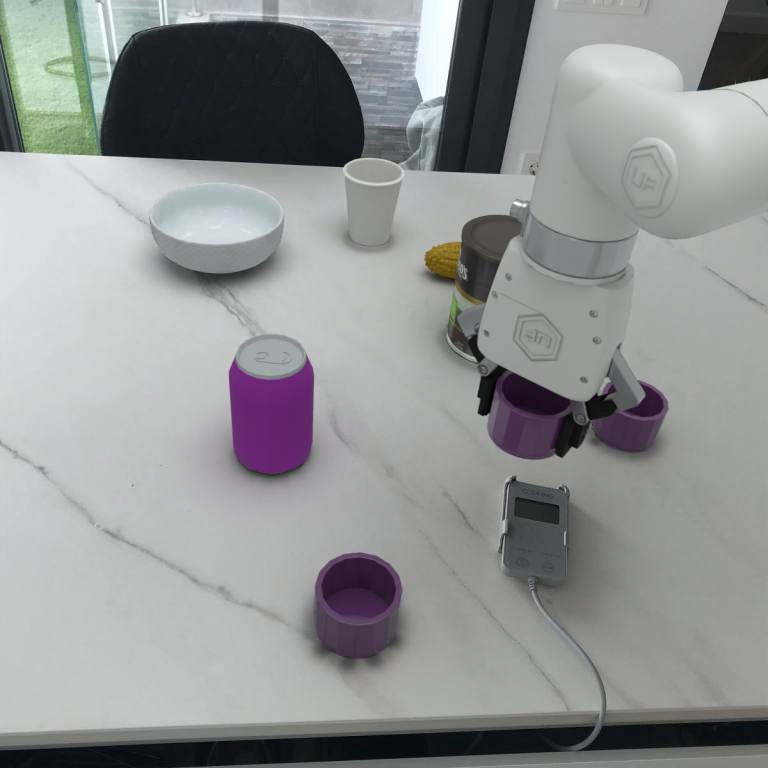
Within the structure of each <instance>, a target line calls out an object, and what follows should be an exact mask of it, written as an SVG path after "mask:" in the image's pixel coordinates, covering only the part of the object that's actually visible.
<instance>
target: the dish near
mask: <svg viewBox="0 0 768 768" xmlns="http://www.w3.org/2000/svg"><path fill="white" fill-rule="evenodd" d="M402 596H403V586H402V582H401V577H400V575H399V574H398V572H397V571H396V570H395V568H394V567H393V566H392V565H391V563H390V562H388V561H387V560H384V559H383V558H381V557H379V556H378V555H375V554H371V553H366V552H362V551H360V552H348V553H347V552H346V553H342V554H341V555H339V556H336V557H334V558H332V559H330V560H329V561H328V562H327V563H326V564H325V565H324V566H323V567H322V568H321V569H320V570H319V572H318V575H317V578H316V581H315V584H314V601H313V602H314V604H313V606H314V607H313V617H314V618H313V619H314V621H313V622H314V629H315V632H316V635H317V637H318V639H319V640H320V641H321V643H322V644H323V645H324V646H325V647H326V648H327V649H329V650H330V651H331V652H333V653H334V654H337V655H339V656H341V657H345V658H348V659H349V658H350V659H363V658H369V657H371V656H374V655H376V654H379V653H380V652H382V651H383V650H385V648H387V647H388V646H389V644H390V643H391V642H392V641H393V639H394V637H395V635H396V632H397V627H398V622H399V616H400V611H401V603H402V598H403V597H402Z"/></svg>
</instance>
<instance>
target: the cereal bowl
mask: <svg viewBox="0 0 768 768" xmlns="http://www.w3.org/2000/svg"><path fill="white" fill-rule="evenodd" d="M148 221H149V222H148V223H149V226H150V227H149V228H150V231H151V235H152V238H153V240H154V242H155V244H156V246H157V248H158V249H159V250H160V252H162V253H163V255H164V256H165V257H166V258H168V259H169V260H171V261H172V262H174V263H175V264H177V265H179V266H180V267H183V268H185V269H189V270H192V271H195V272H200V273H206V274H207V273H208V274H210V273H211V274H220V275H221V274H230V273H238V272H242V271H245V270H248V269H252V268H253V267H256V266H258V265H260V264H261V263H263V262H265V261H266V260H267V259H268V258H269V257H270V256H272V255H273V253H275V251H276V250H277V248H278V247H279V245H280V243H281V239H282V238H283V233H284V227H285V210H284V208H283V206H282V205H281V203H280V202H279V201H278V200H277V199H276V198H275V197H274V196H272V195H271V194H270V193H267V192H265V191H263V190H261V189H258V188H255V187H252V186H249V185H244V184H239V183H233V182H232V183H231V182H217V181H216V182H215V181H214V182H200V183H193V184H188V185H185V186H180V187H177V188H174V189H172V190H170V191H167V192H166V193H164V194H162V195H161V196H159V197H158V198H156V200H154V202H153V203H152V204H151V206H150V208H149V211H148Z"/></svg>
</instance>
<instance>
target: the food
mask: <svg viewBox="0 0 768 768" xmlns="http://www.w3.org/2000/svg"><path fill="white" fill-rule="evenodd" d="M460 248H461V241H453V242H445V243H442V244H438V245H437V246H435V245H433V246H432V247H431V249H429V250H428V251H425V254H424V259H423V260H424V261H425V266H426V267H427V269H428V270H429V271H430V272H434V274H437V275H439V276H442V277H446V278H449V279H454V280H456V273H457V267H458V261H459V254H460Z"/></svg>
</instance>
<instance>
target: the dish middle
mask: <svg viewBox="0 0 768 768" xmlns="http://www.w3.org/2000/svg"><path fill="white" fill-rule="evenodd" d="M571 413H572V410H571V405H570V400H569V399H568V398H565V397H563V396H561V395H559V394H557V393H555V392H553V391H550V390H548V389H546V388H544V387H542V386H540V385H538V384H536V383H534V382H532V381H530V380H528V379H526V378H524V377H522V376H520V375H518V374H516V373H514V372H512V371H510V370H507V371H505V372H503V374H502V375H501V376H500V377H499V378H498V379H497V381H496V385H495V390H494V394H493V399H492V403H491V408H490V412H489V414H488V416H487V417H488V418H487V423H486V431H487V434H488V436H489V438H490V440H491V441H492V442H493V443H494V445H495V446H496V447H498V449H500V450H501V451H503V452H504V453H506V454H508V455H510V456H512V457H515V458H519V459H523V460H530V461H538V460H545V459H550V458H551V457H554V456H556V453H555V450H556V446H557V443H558V440H559V437H560V433H561V430H562V427H563V424H564V421H565V419H566V418H567V417H568V416H569V414H571Z"/></svg>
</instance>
